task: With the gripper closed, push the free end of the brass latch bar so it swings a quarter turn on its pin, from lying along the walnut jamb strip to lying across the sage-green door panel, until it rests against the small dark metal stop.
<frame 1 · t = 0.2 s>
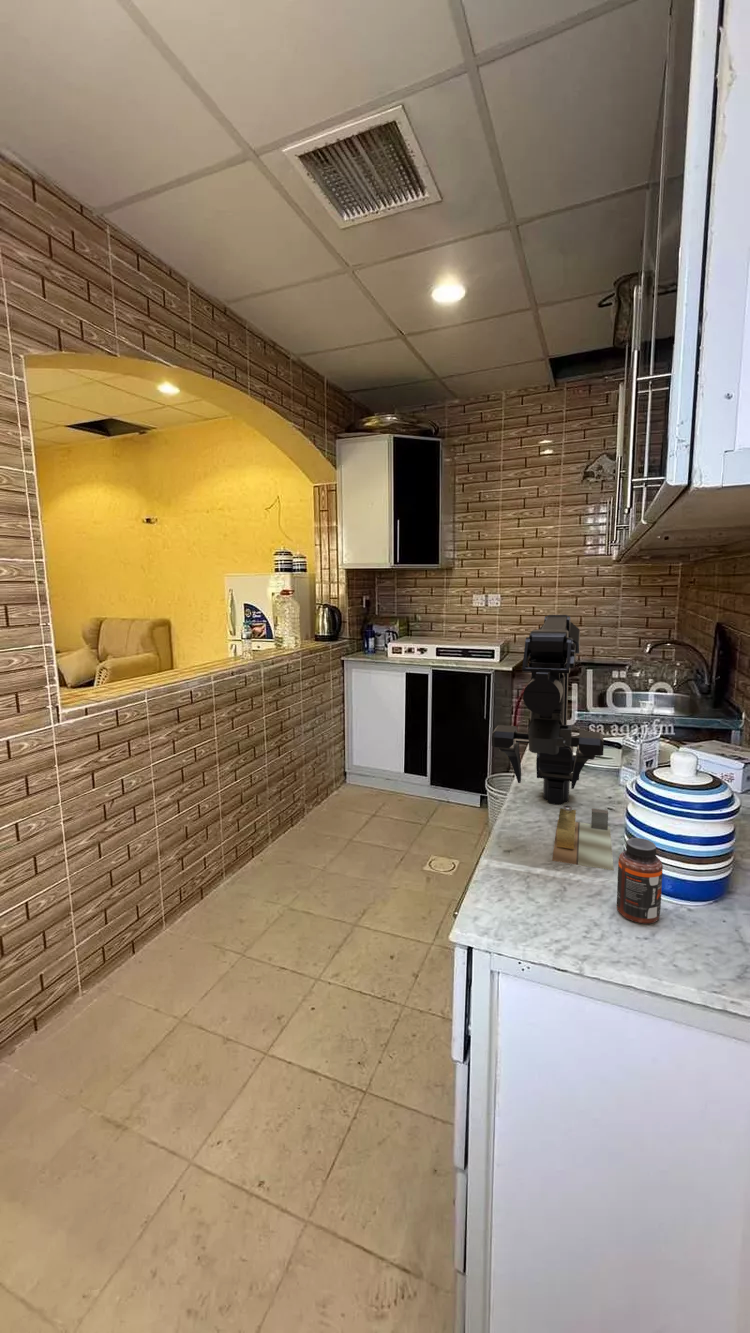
hand: (545, 785, 96), 14 cm above the countertop, tool pointing down, fingers open, 9 cm apart
latch bar: (566, 825, 102), point 4 cm above the countertop, hinge at 0.0°
stop block: (599, 827, 106), resting on door board
supplement bottle: (637, 914, 80), on the countertop
door board: (582, 848, 100), on the countertop
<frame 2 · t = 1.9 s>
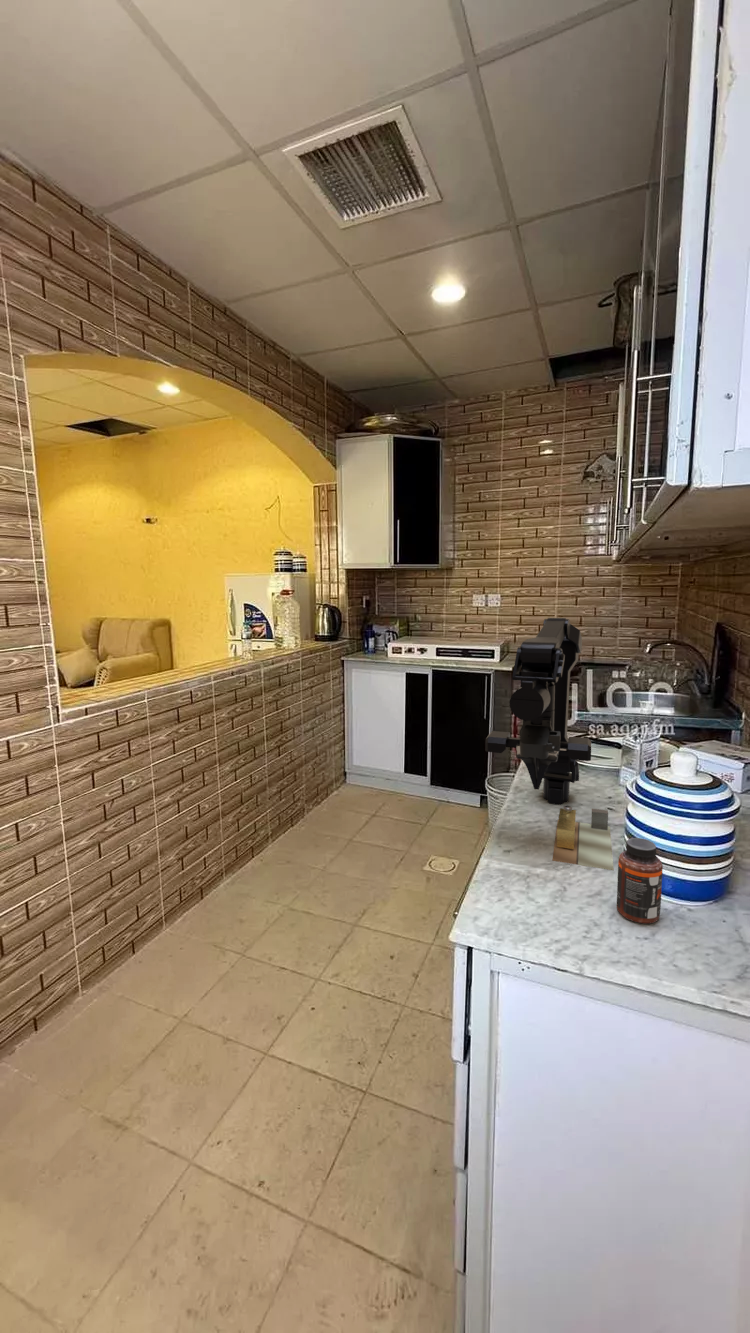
hand: (536, 788, 100), 12 cm above the countertop, tool pointing down, fingers closed
nothing on the countertop moved.
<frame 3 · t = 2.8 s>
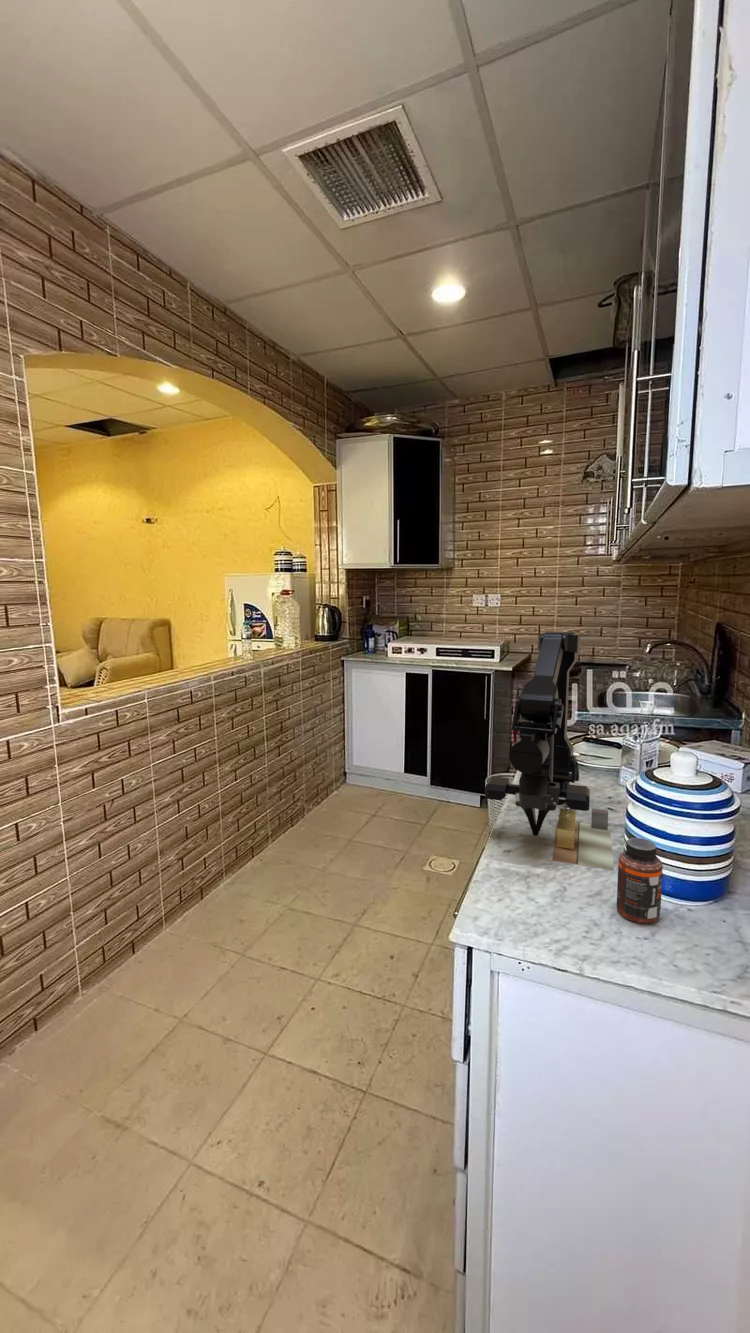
hand: (535, 835, 101), 2 cm above the countertop, tool pointing down, fingers closed
nothing on the countertop moved.
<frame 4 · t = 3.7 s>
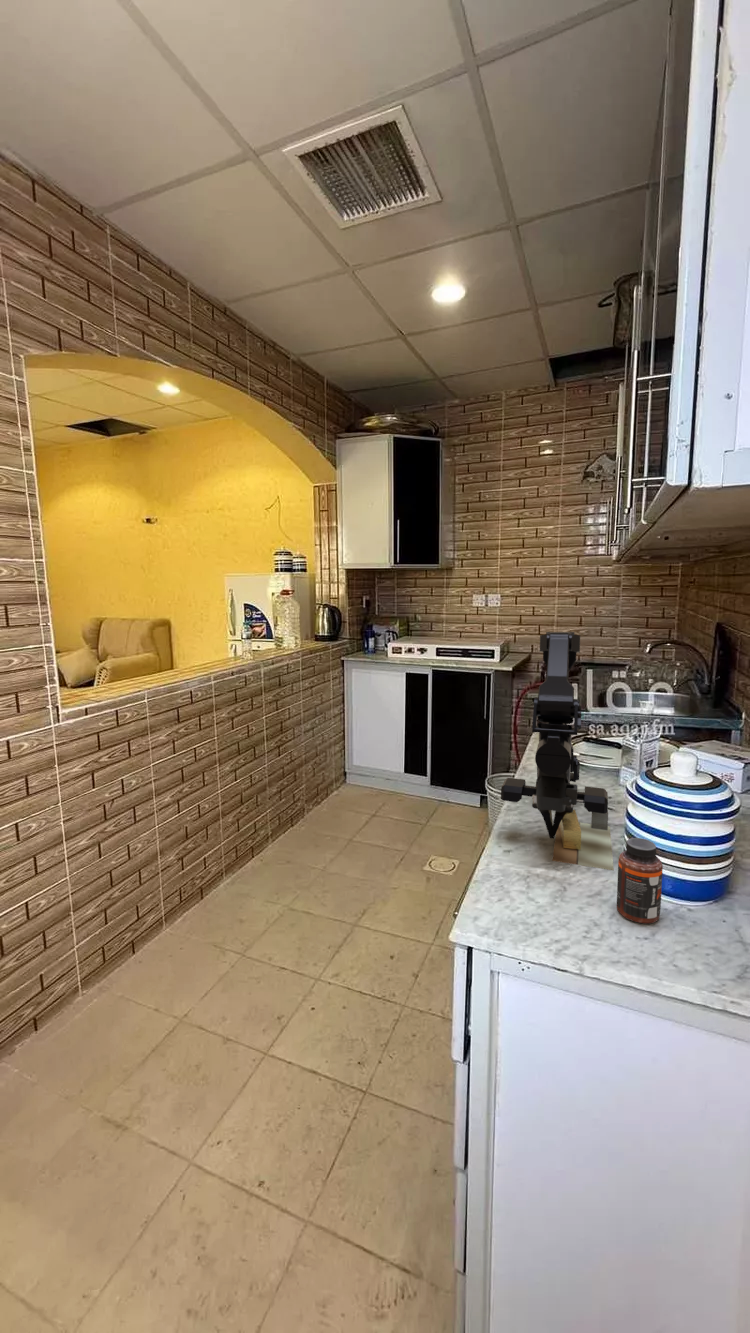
hand: (552, 837, 100), 2 cm above the countertop, tool pointing down, fingers closed
latch bar: (569, 826, 102), point 4 cm above the countertop, hinge at 7.5°, touching gripper
everything else where it was.
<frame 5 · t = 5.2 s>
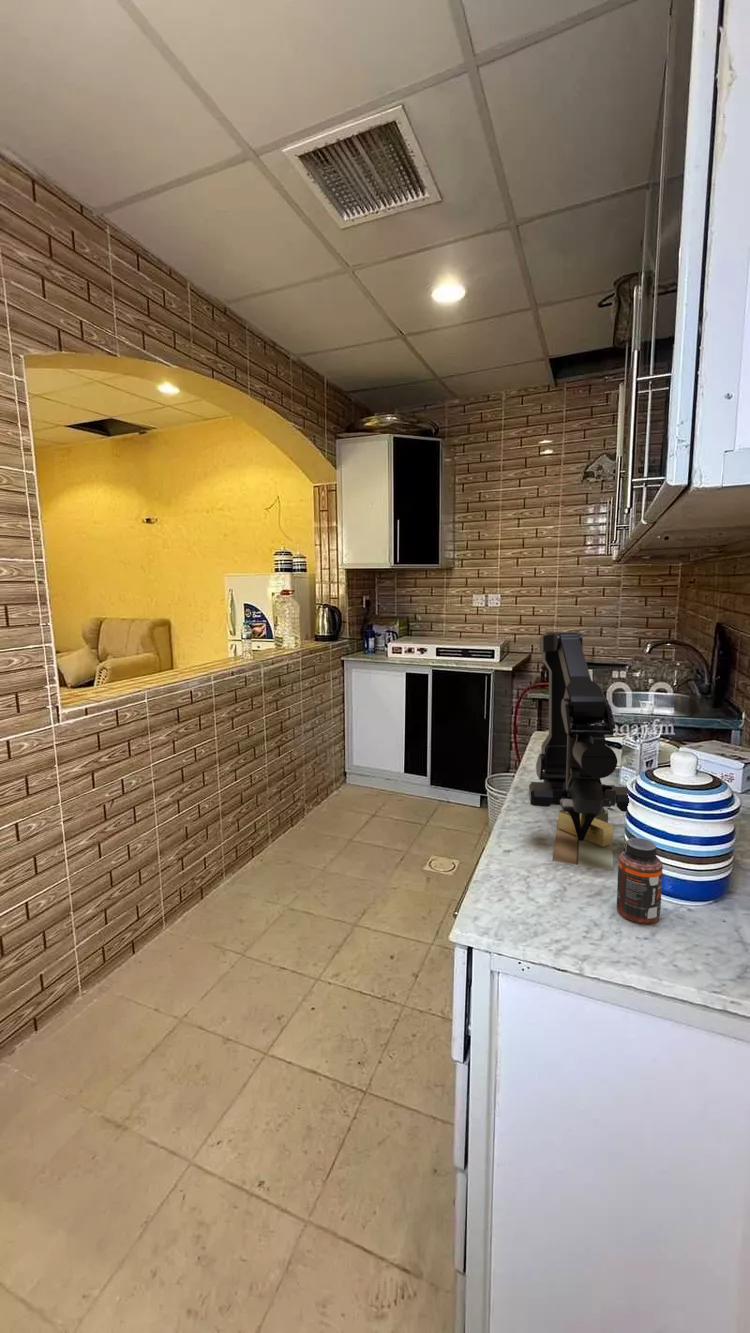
hand: (580, 839, 99), 2 cm above the countertop, tool pointing down, fingers closed
latch bar: (584, 824, 102), point 4 cm above the countertop, hinge at 54.7°, touching gripper
everything else where it was.
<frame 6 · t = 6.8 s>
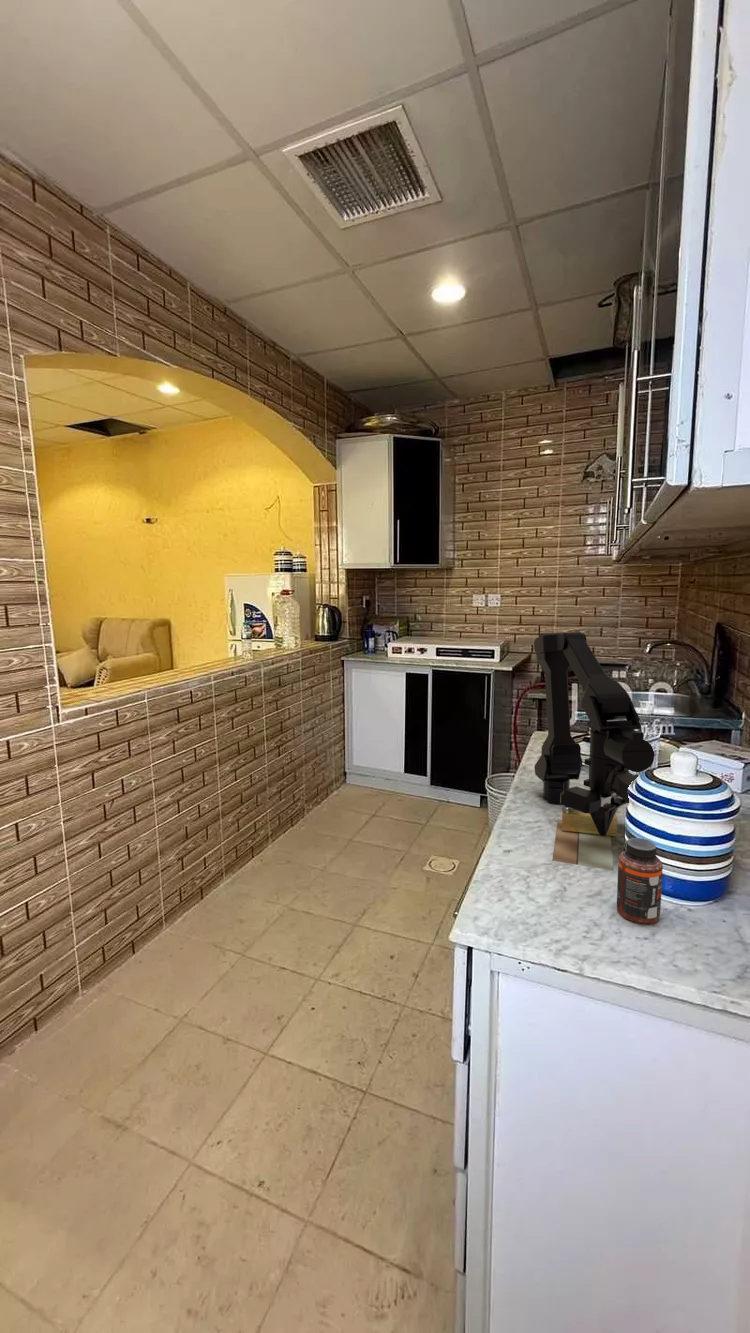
hand: (602, 835, 100), 2 cm above the countertop, tool pointing down, fingers closed
latch bar: (588, 819, 104), point 4 cm above the countertop, hinge at 93.8°, touching gripper, stop block
everything else where it was.
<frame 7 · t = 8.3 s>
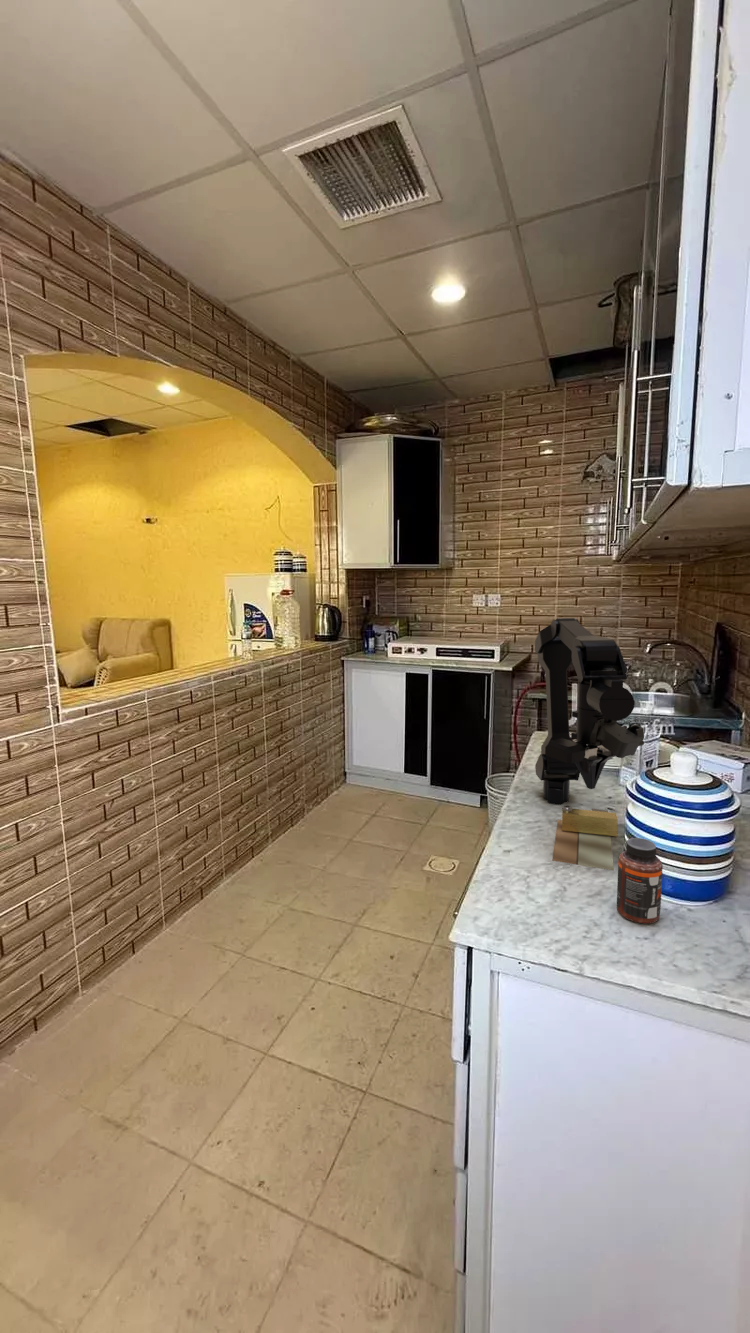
hand: (590, 788, 99), 12 cm above the countertop, tool pointing down, fingers closed
latch bar: (588, 819, 104), point 4 cm above the countertop, hinge at 93.8°, touching stop block
everything else where it was.
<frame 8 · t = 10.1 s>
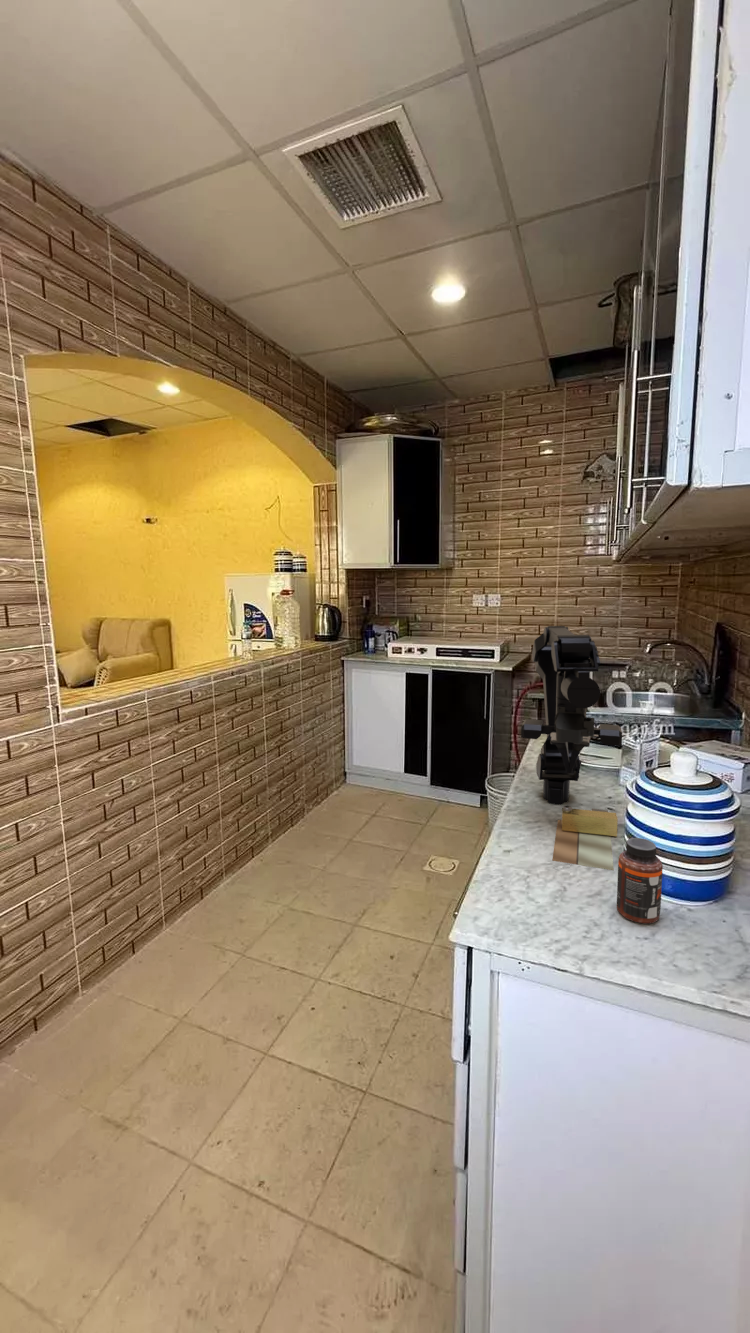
hand: (569, 772, 107), 12 cm above the countertop, tool pointing down, fingers closed
nothing on the countertop moved.
at the end: latch bar at +94° (first picture: +0°) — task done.
